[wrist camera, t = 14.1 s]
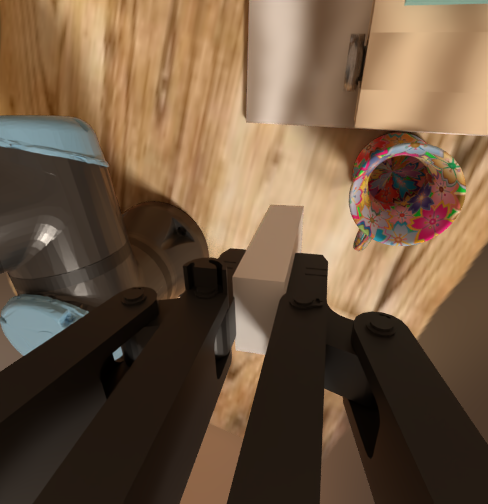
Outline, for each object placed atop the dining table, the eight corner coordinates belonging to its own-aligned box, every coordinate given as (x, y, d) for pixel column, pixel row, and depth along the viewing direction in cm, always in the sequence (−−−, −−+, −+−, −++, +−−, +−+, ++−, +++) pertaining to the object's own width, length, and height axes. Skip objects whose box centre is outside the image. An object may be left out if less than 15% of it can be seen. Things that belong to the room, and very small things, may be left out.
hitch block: (248, 121, 41) (224, 131, 33) (253, -80, 32) (223, -131, 25) (494, 135, 35) (536, 151, 27) (578, -107, 26) (672, -185, 19)
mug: (380, 111, 36) (391, 122, 27) (457, 153, 36) (493, 177, 27) (322, 204, 43) (314, 238, 33) (387, 240, 42) (397, 284, 33)
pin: (343, 90, 34) (342, 92, 30) (351, 36, 32) (351, 30, 28) (517, 96, 30) (542, 99, 27) (539, 36, 28) (569, 29, 24)
